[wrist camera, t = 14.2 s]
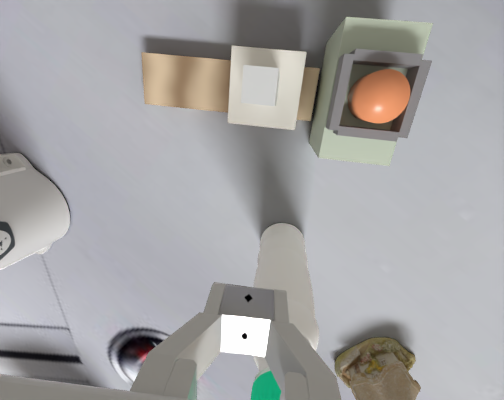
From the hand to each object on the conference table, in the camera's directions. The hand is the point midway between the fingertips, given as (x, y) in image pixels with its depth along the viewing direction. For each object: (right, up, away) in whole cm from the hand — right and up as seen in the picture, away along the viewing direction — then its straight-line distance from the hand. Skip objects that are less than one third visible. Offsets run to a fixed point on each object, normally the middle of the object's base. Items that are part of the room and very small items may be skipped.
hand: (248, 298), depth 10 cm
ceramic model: (+24, -27, +38) cm, 52 cm away
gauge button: (+11, +13, +12) cm, 21 cm away
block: (-3, +19, +23) cm, 30 cm away
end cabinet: (+12, +17, +22) cm, 30 cm away
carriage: (+2, +18, +20) cm, 27 cm away
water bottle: (+5, -3, +31) cm, 31 cm away
